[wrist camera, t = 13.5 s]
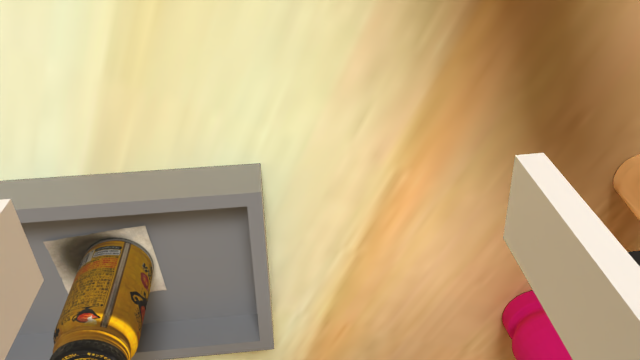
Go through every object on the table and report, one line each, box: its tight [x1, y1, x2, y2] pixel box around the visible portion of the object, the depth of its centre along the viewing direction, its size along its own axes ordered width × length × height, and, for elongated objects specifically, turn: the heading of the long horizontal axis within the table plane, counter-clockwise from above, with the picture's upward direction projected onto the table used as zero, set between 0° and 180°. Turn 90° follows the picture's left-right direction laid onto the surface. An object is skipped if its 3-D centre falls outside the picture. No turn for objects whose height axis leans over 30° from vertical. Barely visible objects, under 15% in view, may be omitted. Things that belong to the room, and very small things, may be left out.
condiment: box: [43, 226, 167, 360], centre depth 45 cm, size 7×8×12 cm
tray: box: [0, 163, 274, 360], centre depth 49 cm, size 26×17×4 cm, turn 91°
